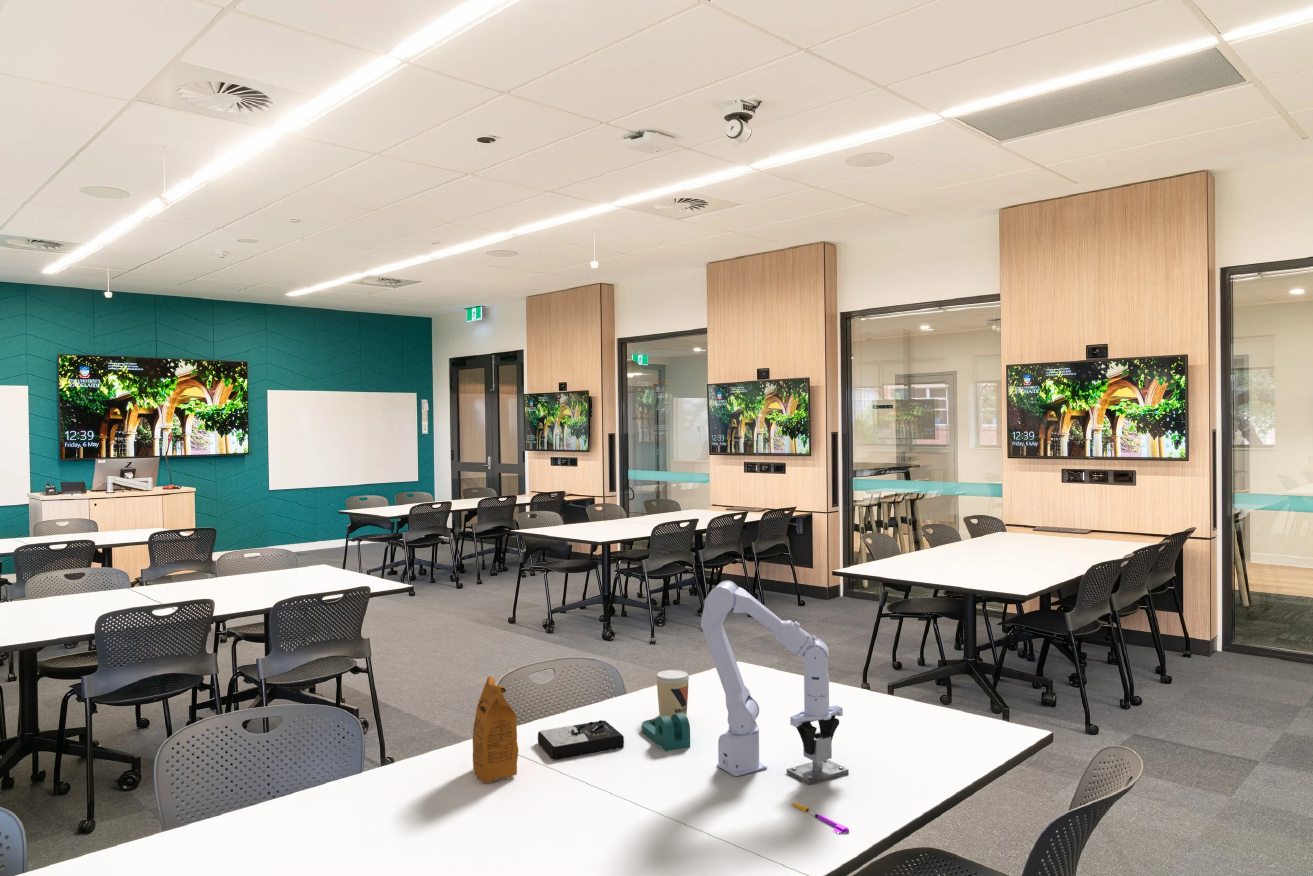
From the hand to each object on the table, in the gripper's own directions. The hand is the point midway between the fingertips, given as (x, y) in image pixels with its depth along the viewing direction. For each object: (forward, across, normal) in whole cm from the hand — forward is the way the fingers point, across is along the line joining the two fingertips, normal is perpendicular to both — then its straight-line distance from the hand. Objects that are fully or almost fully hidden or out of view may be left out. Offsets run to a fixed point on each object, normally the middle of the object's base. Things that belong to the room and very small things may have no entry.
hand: (817, 751), depth 197 cm
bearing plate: (+5, 0, 0) cm, 5 cm away
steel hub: (+1, 0, 0) cm, 1 cm away
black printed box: (+6, -39, +47) cm, 61 cm away
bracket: (+6, -18, +40) cm, 44 cm away
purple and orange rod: (+6, -16, -18) cm, 24 cm away
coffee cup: (+5, -7, +52) cm, 53 cm away
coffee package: (+5, -64, +42) cm, 76 cm away
